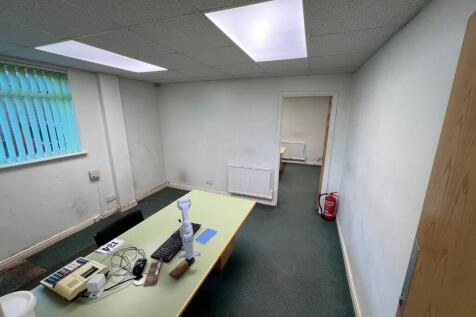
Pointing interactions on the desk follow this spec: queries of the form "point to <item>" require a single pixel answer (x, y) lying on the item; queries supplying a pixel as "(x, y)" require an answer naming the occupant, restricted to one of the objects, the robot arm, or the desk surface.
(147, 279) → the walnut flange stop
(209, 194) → the desk surface
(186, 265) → the sunglasses case
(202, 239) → the tablet computer
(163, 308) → the desk surface
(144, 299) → the desk surface
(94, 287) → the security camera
